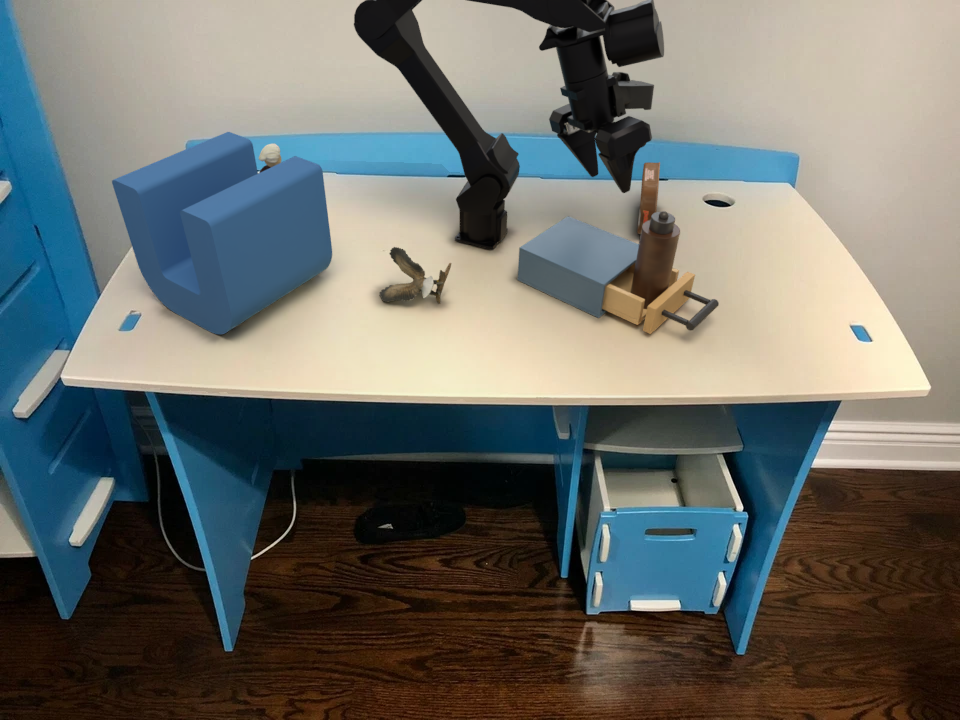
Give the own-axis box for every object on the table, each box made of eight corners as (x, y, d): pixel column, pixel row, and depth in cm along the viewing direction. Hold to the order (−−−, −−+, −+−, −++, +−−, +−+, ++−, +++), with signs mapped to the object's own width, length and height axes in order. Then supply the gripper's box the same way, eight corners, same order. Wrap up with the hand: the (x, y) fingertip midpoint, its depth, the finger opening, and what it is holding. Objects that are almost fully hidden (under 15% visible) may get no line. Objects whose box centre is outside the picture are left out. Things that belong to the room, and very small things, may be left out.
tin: (652, 245, 118) (662, 196, 112) (632, 243, 118) (640, 194, 113) (655, 200, 129) (664, 154, 124) (637, 198, 129) (645, 152, 124)
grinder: (630, 308, 102) (646, 220, 93) (628, 288, 106) (643, 201, 97) (666, 310, 102) (686, 222, 93) (663, 290, 105) (681, 203, 97)
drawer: (721, 311, 103) (728, 287, 101) (683, 349, 97) (689, 324, 94) (609, 264, 112) (612, 240, 109) (567, 295, 105) (570, 271, 103)
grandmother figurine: (308, 221, 121) (297, 146, 113) (291, 231, 119) (279, 155, 111) (273, 208, 125) (260, 133, 116) (256, 217, 122) (241, 142, 114)
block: (336, 283, 108) (321, 165, 97) (238, 347, 97) (209, 222, 85) (248, 243, 116) (225, 130, 104) (148, 299, 104) (110, 178, 93)
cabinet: (644, 281, 110) (650, 248, 106) (598, 318, 103) (603, 284, 99) (564, 247, 117) (568, 215, 113) (517, 280, 110) (519, 247, 106)
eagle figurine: (451, 274, 108) (391, 256, 109) (452, 254, 101) (388, 234, 102) (435, 322, 106) (374, 304, 106) (435, 305, 99) (369, 285, 100)
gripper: (677, 59, 92) (696, 176, 101) (604, 44, 108) (626, 147, 116) (598, 94, 91) (623, 210, 99) (535, 74, 106) (562, 176, 115)
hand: (609, 183), depth 107 cm, fingers open, 9 cm apart
